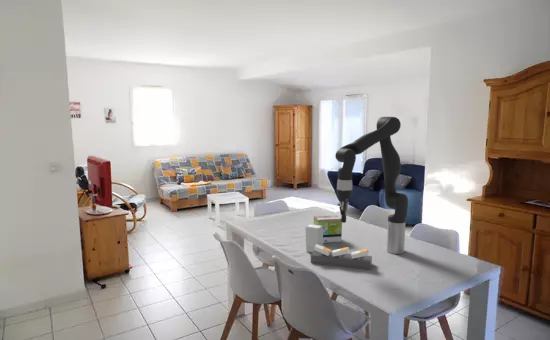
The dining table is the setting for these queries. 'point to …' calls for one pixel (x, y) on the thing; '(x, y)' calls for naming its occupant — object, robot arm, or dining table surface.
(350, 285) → the dining table surface
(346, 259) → the power strip
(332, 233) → the tea box
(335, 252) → the block
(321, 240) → the skincare box
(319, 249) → the block
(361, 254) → the block
